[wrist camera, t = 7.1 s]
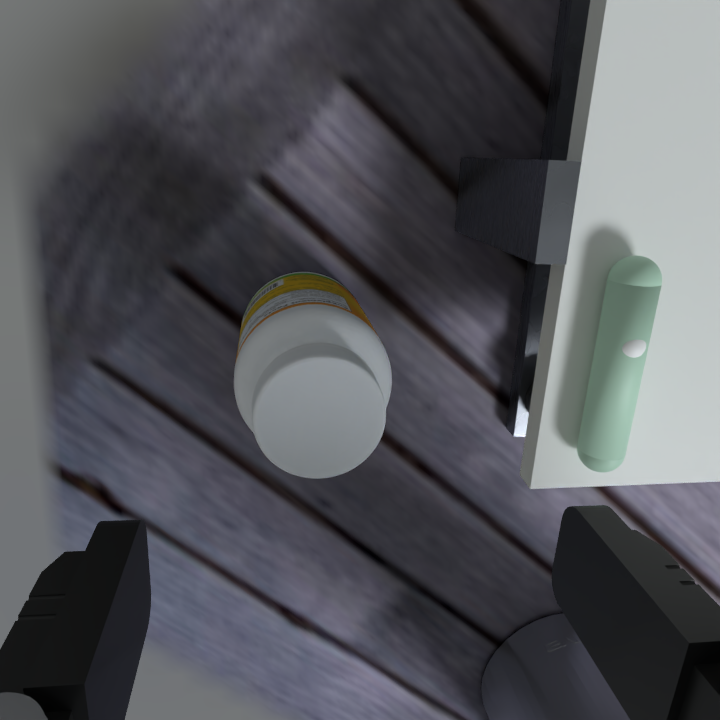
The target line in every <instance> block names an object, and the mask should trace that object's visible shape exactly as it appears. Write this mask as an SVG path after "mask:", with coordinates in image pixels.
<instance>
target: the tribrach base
mask: <svg viewBox="0 0 720 720" xmlns="http://www.w3.org/2000/svg"><path fill="white" fill-rule="evenodd" d="M589 6H590V0H561V4H560V12H559V19H558V27H557V35H556V43H555V51H554V58H553V66H552V74H551V82H550V90H549V97H548V105H547V113H546V121H545V129H544V136H543V144H542V152H541V160H531V159H493V158H461V166H460V177H459V189H458V200H457V211H456V222H455V231H457V232H460V233H462V234H465V235H467V236H469V237H472V238H474V239H477V240H479V241H481V242H484V243H486V244H488V245H491V246H493V247H496V248H498V249H500V250H503V251H505V252H508V253H510V254H512V255H515V256H517V257H519V258H522V259H524V260H527V269H526V277H525V284H524V292H523V300H522V308H521V316H520V323H519V331H518V339H517V347H516V355H515V362H514V370H513V378H512V386H511V394H510V401H509V409H508V417H507V425H506V428H507V430H508V431H509V432H510V433H511V434H512V435H513V436H514V437H525V436H526V430H527V423H528V416H529V409H530V403H531V396H532V389H533V383H534V376H535V369H536V362H537V356H538V349H539V342H540V336H541V329H542V322H543V315H544V309H545V302H546V295H547V289H548V282H549V275H550V268H551V264H559V265H566V262H567V256H568V249H569V242H570V235H571V229H572V222H573V215H574V209H575V202H576V195H577V188H578V182H579V175H580V168H581V162H582V161H567V154H568V148H569V141H570V134H571V127H572V121H573V114H574V107H575V100H576V94H577V87H578V80H579V74H580V67H581V60H582V53H583V47H584V40H585V33H586V27H587V20H588V13H589Z"/></svg>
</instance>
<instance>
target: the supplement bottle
mask: <svg viewBox="0 0 720 720" xmlns="http://www.w3.org/2000/svg"><path fill="white" fill-rule="evenodd" d="M391 387H392V372H391V366H390V361H389V358H388V355H387V353H386V350H385V348H384V346H383V344H382V342H381V340H380V338H379V337H378V335H377V333H376V332H375V330H374V328H373V327H372V325H371V323H370V322H369V320H368V318H367V317H366V315H365V313H364V312H363V310H362V308H361V307H360V305H359V303H358V302H357V300H356V299H355V298H354V296H353V295H352V294H351V293H350V291H349V290H347V289H346V288H345V287H344V286H343V285H342V284H340V283H339V282H337V281H336V280H334V279H332V278H330V277H327V276H325V275H322V274H318V273H312V272H294V273H289V274H285V275H283V276H280V277H278V278H275V279H273V280H272V281H270V282H268V283H267V284H265V285H264V286H263V287H262V288H261V289H260V290H259V291H258V292H257V293H256V294H255V295H254V296H253V298H252V299H251V301H250V303H249V304H248V306H247V308H246V311H245V313H244V316H243V320H242V324H241V330H240V337H239V343H238V350H237V356H236V362H235V371H234V392H235V398H236V402H237V406H238V409H239V411H240V414H241V416H242V418H243V419H244V421H245V423H246V424H247V426H248V427H249V428H250V430H251V431H252V432H253V433H254V435H255V438H256V441H257V443H258V445H259V447H260V449H261V450H262V452H263V453H264V454H265V456H266V457H267V458H268V459H269V460H270V461H271V462H272V463H273V464H275V465H276V466H277V467H279V468H280V469H282V470H284V471H286V472H288V473H290V474H293V475H296V476H299V477H304V478H312V479H321V478H330V477H335V476H338V475H341V474H343V473H346V472H348V471H350V470H352V469H354V468H355V467H357V466H358V465H360V464H361V463H362V462H363V461H364V460H366V459H367V458H368V457H369V456H370V455H371V453H372V452H373V451H374V449H375V448H376V447H377V445H378V443H379V441H380V439H381V437H382V434H383V431H384V427H385V423H386V407H387V405H388V402H389V398H390V394H391Z"/></svg>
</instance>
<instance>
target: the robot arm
mask: <svg viewBox="0 0 720 720" xmlns="http://www.w3.org/2000/svg"><path fill="white" fill-rule="evenodd" d="M552 586H553V591H554V595H555V598H556V601H557V603H558V605H559V607H560V608H561V610H562V611H563V613H562V614H556V615H551V616H548V617H545V618H542V619H539V620H536V621H534V622H532V623H531V624H529V625H527V626H525V627H523V628H521V629H520V630H518V631H517V632H516V633H514V634H513V635H512V636H510V637H509V638H508V639H507V640H506V641H505V642H504V643H503V644H502V645H501V646H500V647H499V648H498V649H497V650H496V651H495V653H494V655H493V656H492V658H491V659H490V661H489V662H488V664H487V667H486V669H485V672H484V675H483V678H482V686H481V694H482V700H483V704H484V707H485V709H486V712H487V715H488V717H489V720H720V606H719V605H718V604H717V603H716V602H715V601H714V600H713V599H712V598H711V597H710V596H709V595H708V594H707V593H706V592H705V591H704V590H703V589H702V588H701V587H700V585H696V584H695V580H694V579H693V578H692V577H691V576H690V575H689V574H688V573H687V572H686V571H685V570H684V569H680V567H679V564H678V563H677V562H676V561H675V560H674V559H673V558H672V557H671V556H670V555H669V554H668V553H667V551H666V550H665V549H664V548H663V547H662V546H660V545H659V544H657V543H656V542H654V541H652V540H651V539H649V538H648V537H646V536H644V535H643V534H641V533H640V532H638V531H636V530H631V529H630V528H629V527H628V526H627V525H626V524H625V523H624V522H623V521H622V520H621V518H620V517H619V516H618V515H617V514H616V513H615V512H614V511H613V510H612V509H611V508H610V507H608V506H605V505H601V506H571V507H568V508H567V509H566V510H565V511H564V513H563V516H562V521H561V526H560V532H559V537H558V542H557V548H556V553H555V558H554V563H553V569H552ZM150 608H151V585H150V572H149V558H148V545H147V531H146V525H145V522H144V520H122V521H100V522H99V523H98V524H97V526H96V528H95V531H94V533H93V535H92V537H91V539H90V542H89V544H88V546H87V548H86V550H85V551H73V552H64V553H63V554H62V555H61V556H60V557H59V558H57V559H56V560H55V561H54V562H53V563H52V564H50V565H49V566H48V567H47V568H46V569H45V570H44V571H42V572H41V574H40V576H39V578H38V580H37V582H36V584H35V585H34V587H33V589H32V591H31V593H30V595H29V600H28V601H26V602H25V604H24V606H23V608H22V610H21V612H20V614H19V615H18V621H15V623H14V625H13V627H12V629H11V630H10V632H9V634H8V636H7V638H6V640H5V642H4V644H3V645H2V647H1V649H0V720H125V716H126V712H127V708H128V704H129V699H130V695H131V692H132V688H133V684H134V680H135V676H136V672H137V668H138V664H139V660H140V656H141V652H142V648H143V645H144V641H145V637H146V633H147V629H148V624H149V617H150Z"/></svg>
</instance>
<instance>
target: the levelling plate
mask: <svg viewBox="0 0 720 720" xmlns="http://www.w3.org/2000/svg"><path fill="white" fill-rule="evenodd" d="M567 161H582V162H581V168H580V175H579V182H578V188H577V195H576V202H575V209H574V215H573V222H572V229H571V235H570V242H569V249H568V256H567V262H566V265H559V264H551V268H550V275H549V282H548V289H547V295H546V302H545V309H544V315H543V322H542V329H541V336H540V342H539V349H538V356H537V362H536V369H535V376H534V383H533V389H532V396H531V403H530V409H529V416H528V423H527V430H526V436H525V443H524V450H523V456H522V463H521V470H520V476H521V477H522V479H523V480H524V481H525V483H526V484H527V485H528V487H529V488H530V489H542V488H567V487H592V486H618V485H643V484H668V483H693V482H718V481H720V0H590V6H589V13H588V20H587V27H586V33H585V40H584V47H583V53H582V60H581V67H580V74H579V80H578V87H577V94H576V100H575V107H574V114H573V121H572V127H571V134H570V141H569V148H568V154H567Z"/></svg>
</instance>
